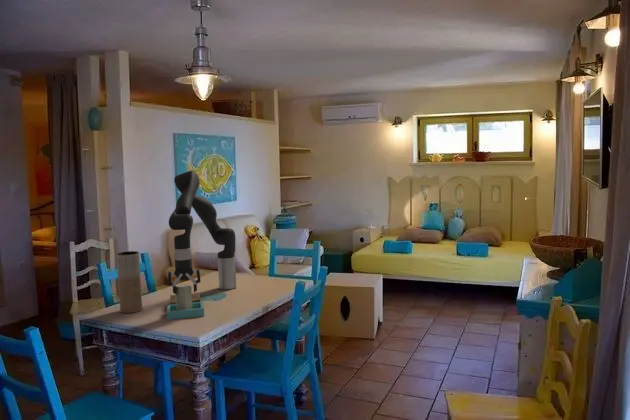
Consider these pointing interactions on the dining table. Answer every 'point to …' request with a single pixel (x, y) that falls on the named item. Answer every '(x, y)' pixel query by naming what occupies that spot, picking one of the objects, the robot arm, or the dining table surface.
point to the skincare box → (183, 297)
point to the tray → (185, 311)
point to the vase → (129, 281)
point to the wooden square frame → (194, 298)
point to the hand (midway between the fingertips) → (185, 293)
